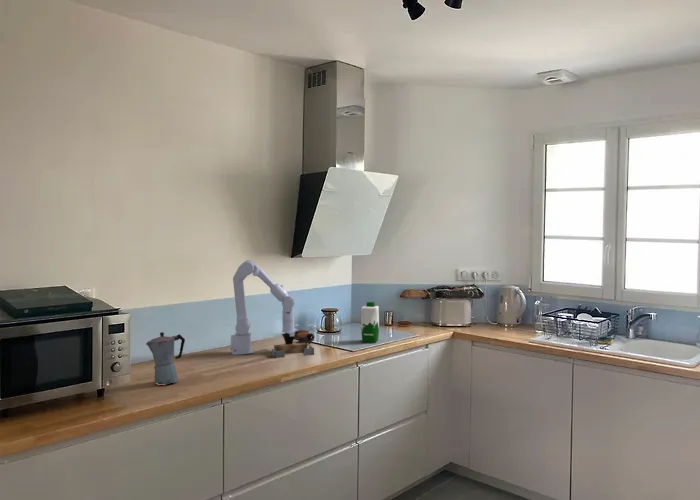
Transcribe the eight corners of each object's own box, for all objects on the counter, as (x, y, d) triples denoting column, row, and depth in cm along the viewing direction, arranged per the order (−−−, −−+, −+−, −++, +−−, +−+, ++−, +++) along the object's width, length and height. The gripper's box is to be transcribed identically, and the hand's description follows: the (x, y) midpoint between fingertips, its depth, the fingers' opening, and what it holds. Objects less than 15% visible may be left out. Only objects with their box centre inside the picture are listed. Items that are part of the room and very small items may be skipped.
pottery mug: (290, 347, 286) (289, 331, 290) (299, 352, 294) (298, 336, 298) (311, 342, 282) (310, 326, 286) (320, 347, 290) (319, 332, 294)
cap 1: (274, 358, 261) (274, 351, 261) (271, 354, 268) (271, 348, 268) (284, 357, 263) (284, 350, 263) (281, 354, 269) (281, 347, 269)
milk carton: (380, 339, 298) (379, 301, 297) (376, 343, 289) (376, 304, 288) (363, 339, 300) (363, 301, 299) (360, 342, 291) (359, 303, 290)
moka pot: (142, 384, 222) (140, 333, 221) (179, 376, 232) (177, 327, 231) (153, 389, 215) (152, 336, 214) (190, 380, 226) (189, 330, 225)
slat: (275, 355, 268) (275, 346, 268) (274, 353, 272) (274, 345, 271) (306, 352, 273) (306, 344, 272) (304, 350, 276) (304, 342, 276)
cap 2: (304, 355, 266) (304, 348, 266) (301, 352, 272) (300, 346, 272) (314, 354, 268) (313, 348, 267) (310, 351, 274) (310, 345, 274)
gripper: (300, 322, 269) (300, 351, 270) (292, 317, 283) (293, 344, 283) (285, 323, 267) (286, 352, 267) (278, 318, 280) (279, 346, 281)
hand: (288, 348), depth 275 cm, fingers closed
